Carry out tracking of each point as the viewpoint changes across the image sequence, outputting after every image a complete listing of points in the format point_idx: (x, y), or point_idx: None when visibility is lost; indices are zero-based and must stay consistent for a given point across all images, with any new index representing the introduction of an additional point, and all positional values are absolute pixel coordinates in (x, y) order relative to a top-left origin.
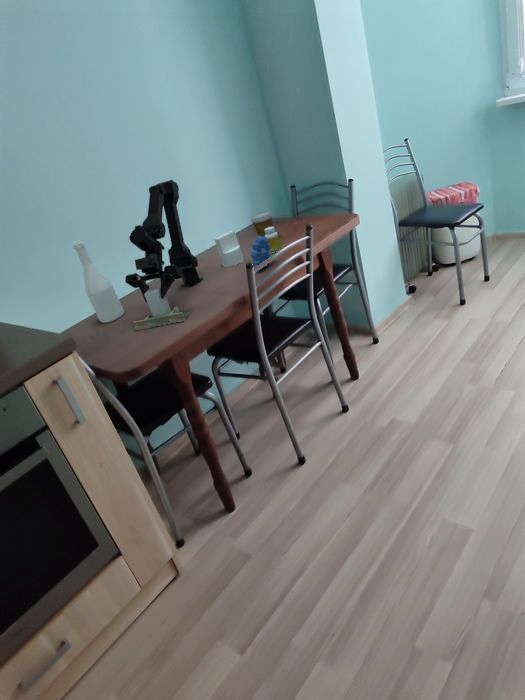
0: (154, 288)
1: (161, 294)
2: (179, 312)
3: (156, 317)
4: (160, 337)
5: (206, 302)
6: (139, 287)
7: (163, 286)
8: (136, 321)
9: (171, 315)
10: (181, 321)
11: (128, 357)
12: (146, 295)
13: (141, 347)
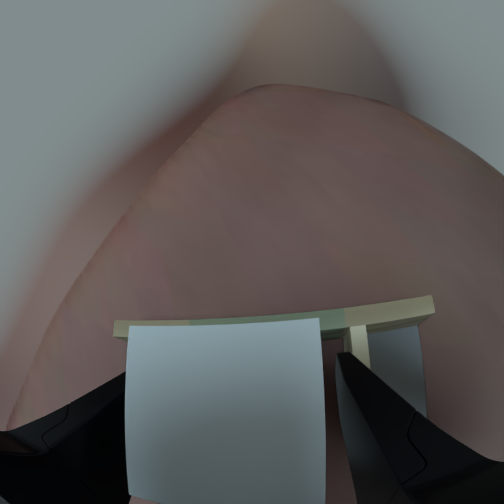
0: (217, 490)
1: None
2: (126, 334)
3: None
4: (218, 213)
5: None
6: (473, 454)
7: (62, 408)
8: (414, 307)
9: (168, 321)
10: None
11: (294, 120)
12: (289, 324)
13: (276, 160)
